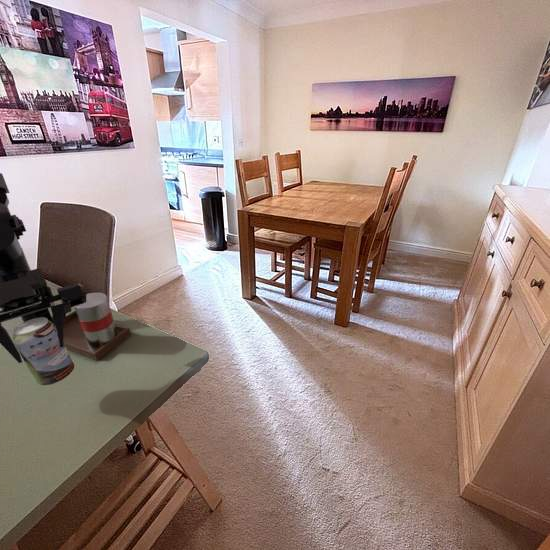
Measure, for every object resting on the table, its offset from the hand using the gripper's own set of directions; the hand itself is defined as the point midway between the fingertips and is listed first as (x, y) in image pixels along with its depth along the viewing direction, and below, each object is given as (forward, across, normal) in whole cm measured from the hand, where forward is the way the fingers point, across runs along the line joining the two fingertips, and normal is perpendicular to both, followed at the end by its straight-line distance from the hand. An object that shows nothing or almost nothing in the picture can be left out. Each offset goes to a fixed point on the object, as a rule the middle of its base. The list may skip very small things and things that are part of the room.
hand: (41, 354), depth 52 cm
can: (-1, +11, +19) cm, 22 cm away
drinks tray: (-4, +8, +23) cm, 25 cm away
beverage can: (+4, 0, +6) cm, 7 cm away
